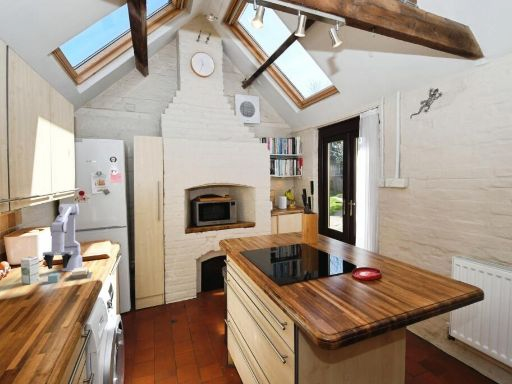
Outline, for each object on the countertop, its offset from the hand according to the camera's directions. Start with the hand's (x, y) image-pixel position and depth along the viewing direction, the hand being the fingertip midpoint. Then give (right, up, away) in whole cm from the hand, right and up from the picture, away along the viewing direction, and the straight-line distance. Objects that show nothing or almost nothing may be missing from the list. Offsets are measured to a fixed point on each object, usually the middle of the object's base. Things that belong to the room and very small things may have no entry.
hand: (57, 268), depth 144 cm
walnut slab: (+3, -9, +15) cm, 18 cm away
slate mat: (+3, -10, +15) cm, 18 cm away
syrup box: (-20, -10, +6) cm, 23 cm away
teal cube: (-7, -10, +7) cm, 14 cm away
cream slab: (+3, -7, +15) cm, 16 cm away
